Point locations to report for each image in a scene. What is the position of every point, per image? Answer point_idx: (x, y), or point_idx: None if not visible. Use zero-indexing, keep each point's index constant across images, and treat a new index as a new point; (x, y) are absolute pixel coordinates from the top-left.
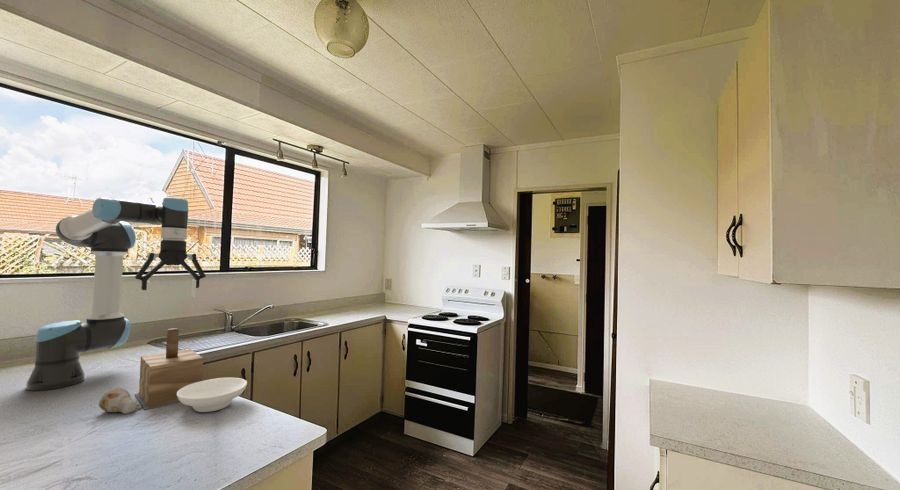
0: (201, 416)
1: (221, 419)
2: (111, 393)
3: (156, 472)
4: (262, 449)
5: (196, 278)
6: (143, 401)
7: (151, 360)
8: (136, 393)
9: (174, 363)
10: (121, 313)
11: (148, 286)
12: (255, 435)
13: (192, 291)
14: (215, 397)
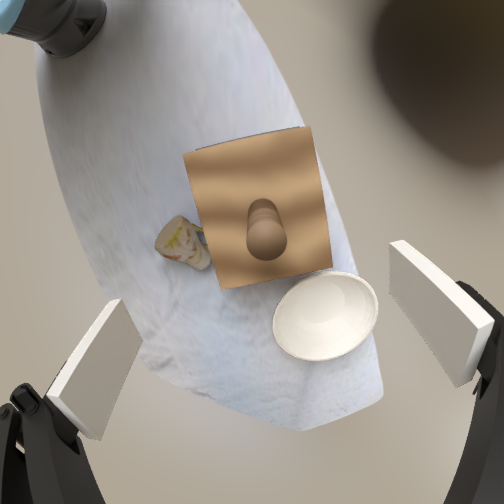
0: None
1: None
2: (167, 255)
3: (256, 409)
4: (332, 409)
5: (481, 385)
6: None
7: (215, 226)
8: (197, 149)
9: (269, 279)
10: None
11: (108, 407)
12: (337, 390)
13: (409, 291)
14: (320, 360)
